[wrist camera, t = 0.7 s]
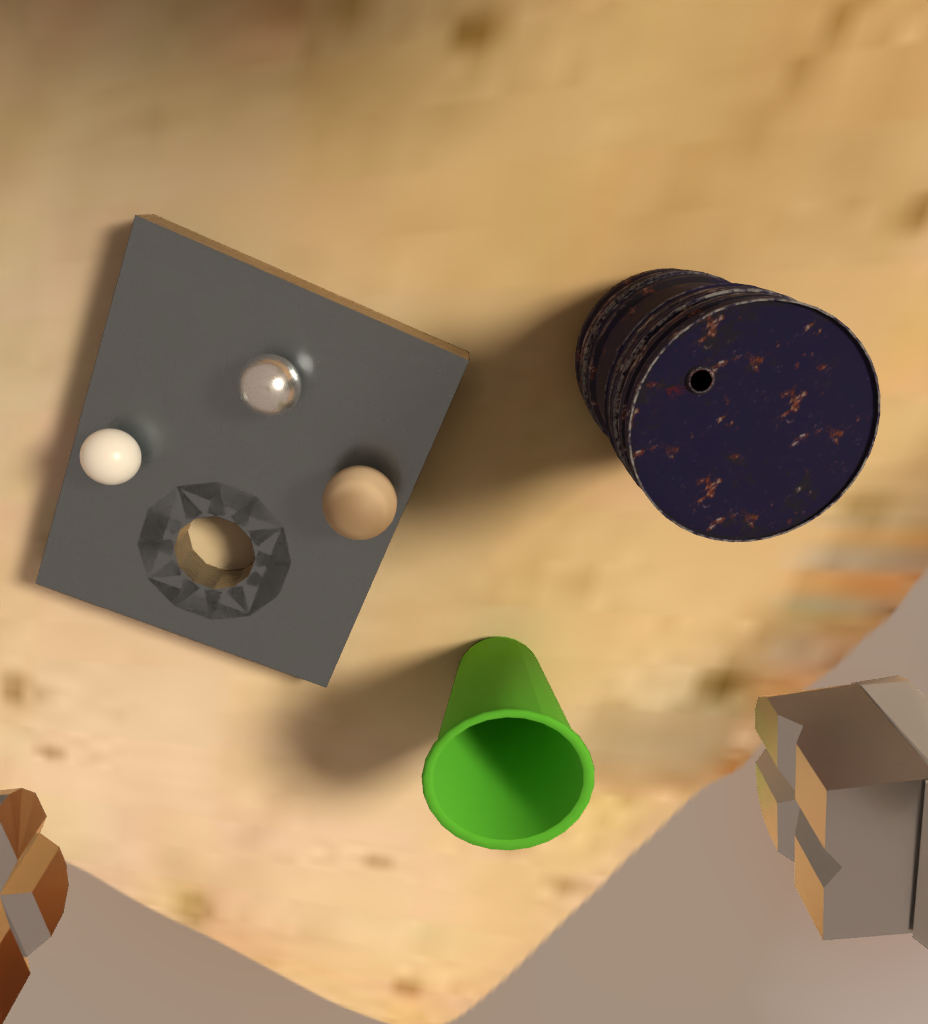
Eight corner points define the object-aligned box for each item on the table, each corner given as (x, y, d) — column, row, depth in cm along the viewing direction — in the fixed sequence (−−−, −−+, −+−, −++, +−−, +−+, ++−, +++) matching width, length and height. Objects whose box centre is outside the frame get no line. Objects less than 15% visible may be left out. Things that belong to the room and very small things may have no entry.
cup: (407, 698, 52) (394, 818, 42) (464, 586, 49) (466, 685, 39) (529, 745, 54) (546, 872, 44) (592, 639, 51) (626, 748, 41)
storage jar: (786, 345, 44) (937, 409, 30) (663, 475, 47) (749, 589, 33) (658, 225, 42) (758, 235, 28) (536, 369, 45) (571, 444, 31)
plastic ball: (102, 413, 43) (77, 427, 40) (156, 435, 43) (135, 450, 40) (88, 462, 44) (63, 479, 41) (141, 482, 44) (120, 501, 41)
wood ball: (342, 445, 44) (332, 467, 40) (410, 472, 44) (405, 497, 40) (318, 507, 45) (305, 534, 41) (384, 533, 45) (377, 562, 42)
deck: (153, 214, 42) (135, 214, 39) (468, 352, 44) (469, 360, 42) (56, 565, 49) (35, 583, 46) (332, 665, 51) (326, 687, 49)
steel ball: (257, 339, 41) (241, 349, 38) (314, 363, 42) (304, 375, 39) (238, 394, 42) (221, 408, 40) (295, 418, 43) (282, 433, 40)
